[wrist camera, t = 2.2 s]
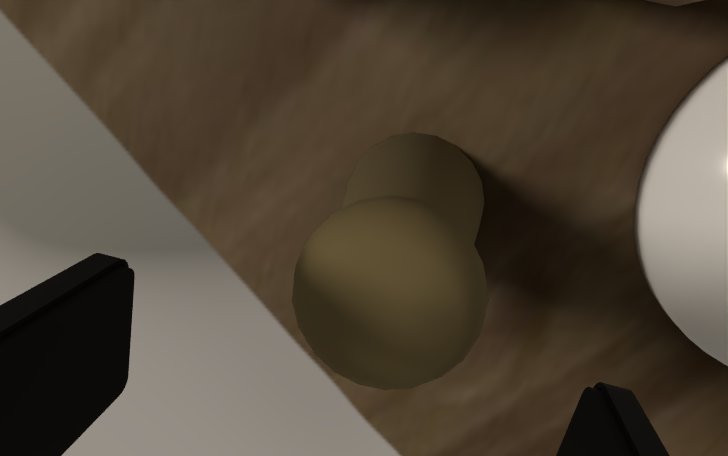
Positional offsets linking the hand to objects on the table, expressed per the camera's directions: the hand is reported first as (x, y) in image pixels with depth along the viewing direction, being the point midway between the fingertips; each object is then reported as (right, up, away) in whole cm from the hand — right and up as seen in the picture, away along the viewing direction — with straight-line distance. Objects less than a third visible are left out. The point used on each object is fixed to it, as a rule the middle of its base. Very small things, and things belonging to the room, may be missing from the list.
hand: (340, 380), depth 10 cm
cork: (+3, +4, +12) cm, 13 cm away
